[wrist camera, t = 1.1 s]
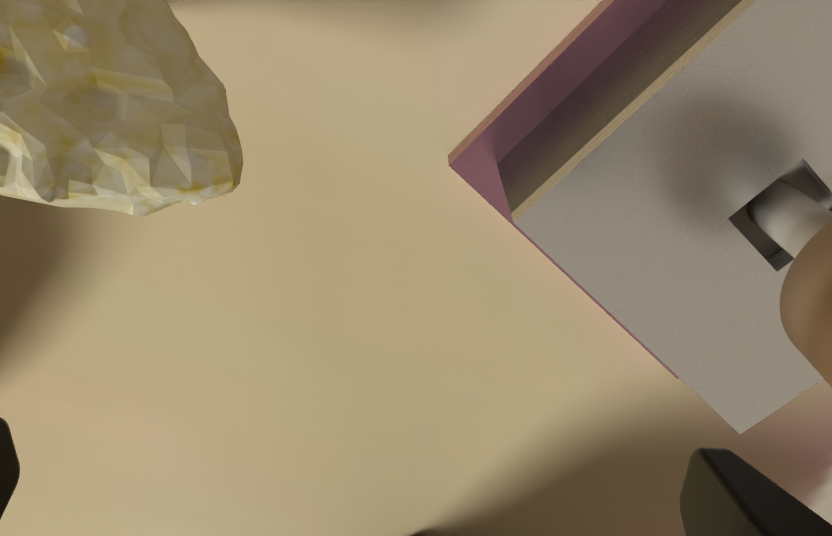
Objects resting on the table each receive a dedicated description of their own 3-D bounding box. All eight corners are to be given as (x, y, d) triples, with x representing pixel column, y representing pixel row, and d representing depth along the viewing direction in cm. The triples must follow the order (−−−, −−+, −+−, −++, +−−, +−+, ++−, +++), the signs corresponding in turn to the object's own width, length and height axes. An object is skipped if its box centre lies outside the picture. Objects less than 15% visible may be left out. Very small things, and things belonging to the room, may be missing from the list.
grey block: (962, 143, 20) (1136, 210, 15) (668, 362, 24) (730, 473, 19) (749, -147, 17) (880, -184, 12) (447, 155, 21) (452, 224, 16)
